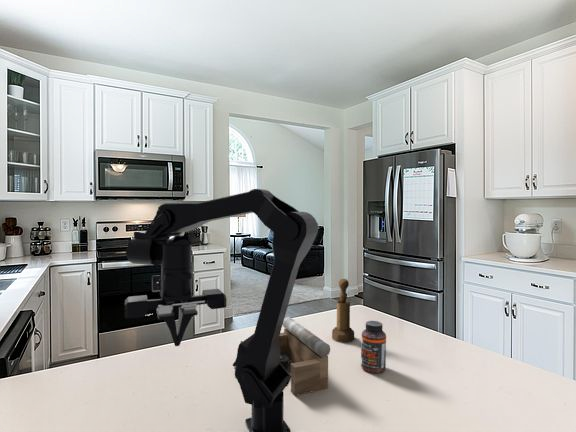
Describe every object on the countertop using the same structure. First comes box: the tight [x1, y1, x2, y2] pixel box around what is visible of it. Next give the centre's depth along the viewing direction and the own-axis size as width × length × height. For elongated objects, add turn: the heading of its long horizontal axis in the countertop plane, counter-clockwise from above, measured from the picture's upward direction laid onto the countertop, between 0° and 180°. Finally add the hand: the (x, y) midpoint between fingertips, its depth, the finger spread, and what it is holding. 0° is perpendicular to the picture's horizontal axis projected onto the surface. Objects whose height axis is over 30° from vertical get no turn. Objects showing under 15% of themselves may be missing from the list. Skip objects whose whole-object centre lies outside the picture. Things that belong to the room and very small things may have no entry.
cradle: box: [279, 316, 331, 397], centre depth 85 cm, size 20×8×10 cm, turn 23°
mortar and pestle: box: [331, 278, 355, 343], centre depth 107 cm, size 7×6×18 cm
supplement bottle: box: [360, 320, 387, 374], centre depth 87 cm, size 6×6×11 cm
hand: (177, 345), depth 71 cm, fingers closed
